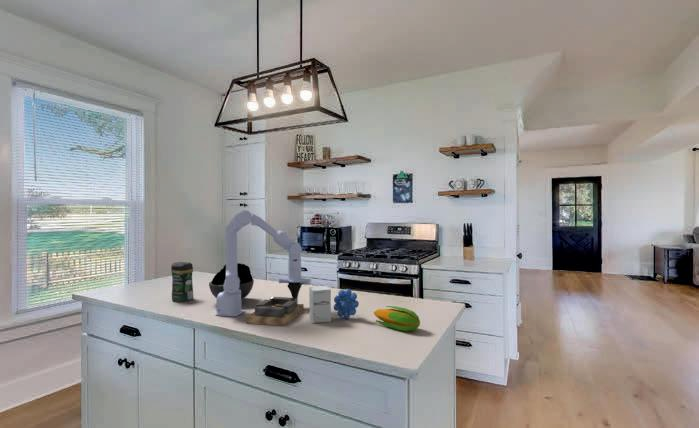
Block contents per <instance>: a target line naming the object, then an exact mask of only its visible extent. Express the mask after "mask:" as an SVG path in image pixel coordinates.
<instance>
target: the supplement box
mask: <svg viewBox="0 0 699 428" xmlns="http://www.w3.org/2000/svg"><path fill="white" fill-rule="evenodd" d="M308 288H309V296H308V297H309V319H310V320H311V322H312V324H315V323H316V324H317V323H326V322H327V323H328V322H332V308H331V307H332V303H331V302H332V301H331V299H332V295H331V294H332V293H331V292H332V291H331V288H330V287H329V285H320V286H309V287H308Z"/></svg>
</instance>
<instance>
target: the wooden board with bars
mask: <svg viewBox="0 0 699 428" xmlns="http://www.w3.org/2000/svg"><path fill="white" fill-rule="evenodd" d="M304 305H305V304H304V303H303V304H302V303H298V305H297V306H296V301H288V302H287V303H285V304H284V305H279V304H276V305H275V306H272V300H270V299H264V300H262V301H259V302H258V303H257V304H255V307H254V311H253V312H250V314H248V315H246V316H245V323H246V324H254V325H255V324H256V325H268V326H269V325H271V326H283V327H284V326H286V325H288V324H289V323H290V322H292V321H293V319H294V318H296V317H297V316H298V315H300V313H302V312H303V311H304V309H305V308H304V307H305V306H304Z"/></svg>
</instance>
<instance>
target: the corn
mask: <svg viewBox="0 0 699 428" xmlns="http://www.w3.org/2000/svg"><path fill="white" fill-rule="evenodd" d="M385 307H386V308H378V309H376V310H373V315H374V316H375V317H376V318H377V320H375V322H376V323H378V324H379V325H382V326H384V327H387V328H389V329H393V330H398V331H403V332H405V333H407V332H411V331H414V330H416V329H418V328H419V327H420V326H421V320H420V317H419V315H418V314H417V313H416V312H415V311H413V310H410V309H408V308H406V307H399V306H393V305H385Z"/></svg>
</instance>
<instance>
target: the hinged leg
mask: <svg viewBox="0 0 699 428" xmlns="http://www.w3.org/2000/svg"><path fill="white" fill-rule="evenodd" d="M298 299H299V297H298V298H292V297H287V296H285V297H283V296H269V300H272V306H275V305H276V304H279V305H284V304H285V303H287V302H288V301H296V306H297V305H298V304H299V302H298Z"/></svg>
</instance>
